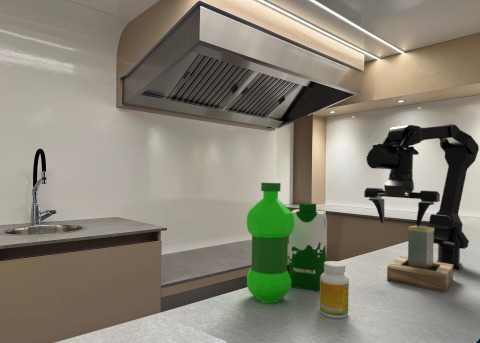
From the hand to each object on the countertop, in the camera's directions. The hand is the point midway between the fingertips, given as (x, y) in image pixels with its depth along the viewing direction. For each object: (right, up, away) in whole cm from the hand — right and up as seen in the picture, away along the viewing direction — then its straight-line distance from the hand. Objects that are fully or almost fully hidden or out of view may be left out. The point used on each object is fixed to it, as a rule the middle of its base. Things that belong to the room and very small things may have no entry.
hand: (399, 225), depth 96 cm
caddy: (+2, -13, -8) cm, 15 cm away
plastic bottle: (-39, -12, -23) cm, 47 cm away
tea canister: (+2, -12, -8) cm, 15 cm away
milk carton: (-29, -13, -13) cm, 34 cm away
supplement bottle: (-27, -13, -30) cm, 42 cm away
